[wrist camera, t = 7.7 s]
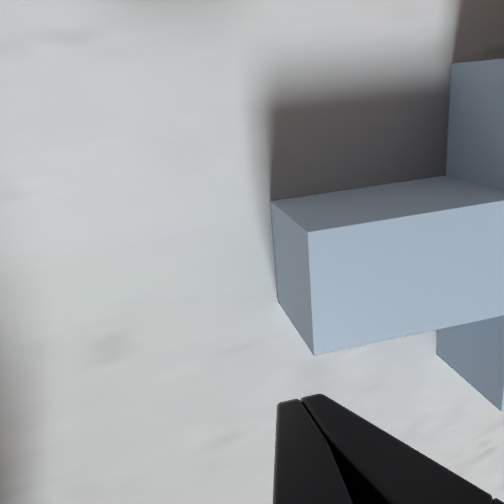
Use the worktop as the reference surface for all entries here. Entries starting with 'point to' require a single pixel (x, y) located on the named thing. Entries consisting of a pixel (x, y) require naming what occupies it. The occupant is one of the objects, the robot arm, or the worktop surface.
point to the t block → (410, 248)
